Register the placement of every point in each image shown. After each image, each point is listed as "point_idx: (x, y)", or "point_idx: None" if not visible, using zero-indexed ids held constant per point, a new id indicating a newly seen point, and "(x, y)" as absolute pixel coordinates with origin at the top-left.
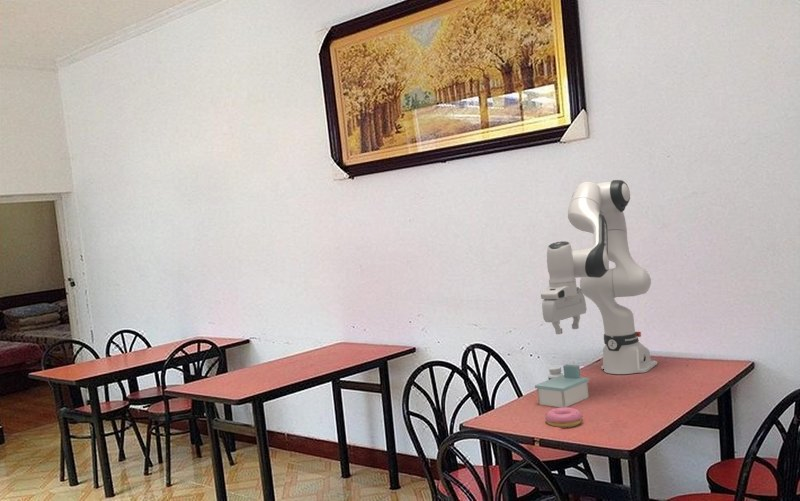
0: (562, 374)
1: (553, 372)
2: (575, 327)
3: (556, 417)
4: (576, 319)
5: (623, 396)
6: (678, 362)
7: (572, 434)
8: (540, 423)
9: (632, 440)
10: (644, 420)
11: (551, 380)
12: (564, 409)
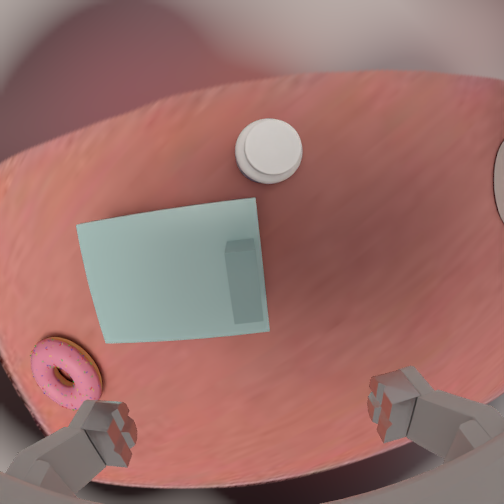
0: (286, 175)
1: (246, 158)
2: (373, 413)
3: (37, 383)
4: (449, 441)
5: (325, 355)
6: None
7: (52, 407)
8: (37, 326)
9: (107, 475)
10: (189, 463)
11: (159, 227)
12: (70, 375)
